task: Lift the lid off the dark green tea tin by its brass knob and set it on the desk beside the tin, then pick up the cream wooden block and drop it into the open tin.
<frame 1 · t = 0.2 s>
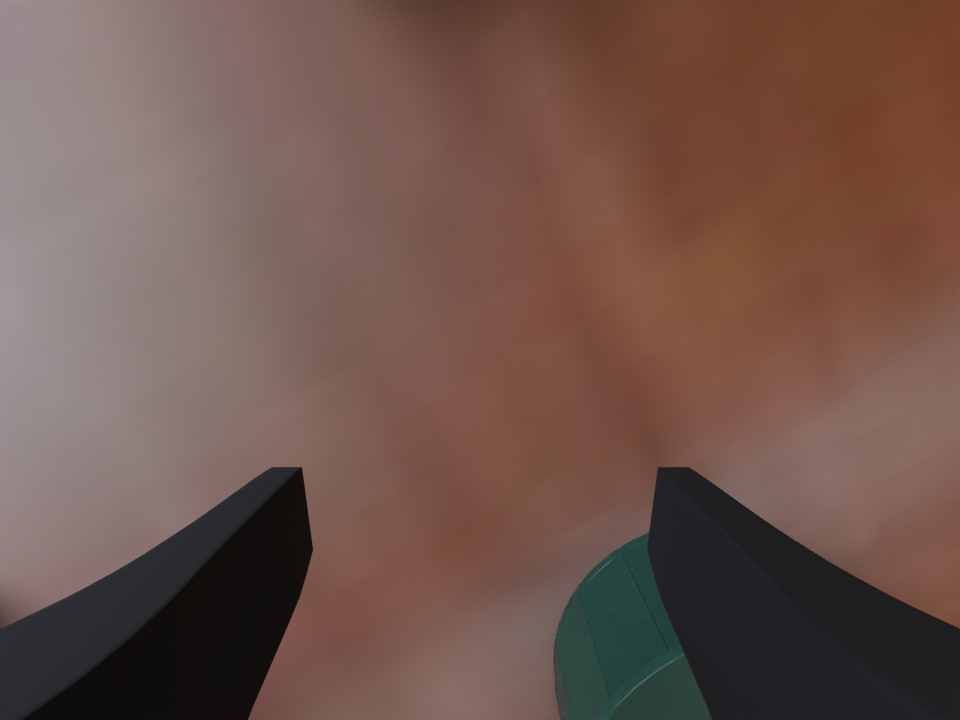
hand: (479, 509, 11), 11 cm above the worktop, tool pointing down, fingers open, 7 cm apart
tea tin: (697, 652, 24), on the worktop
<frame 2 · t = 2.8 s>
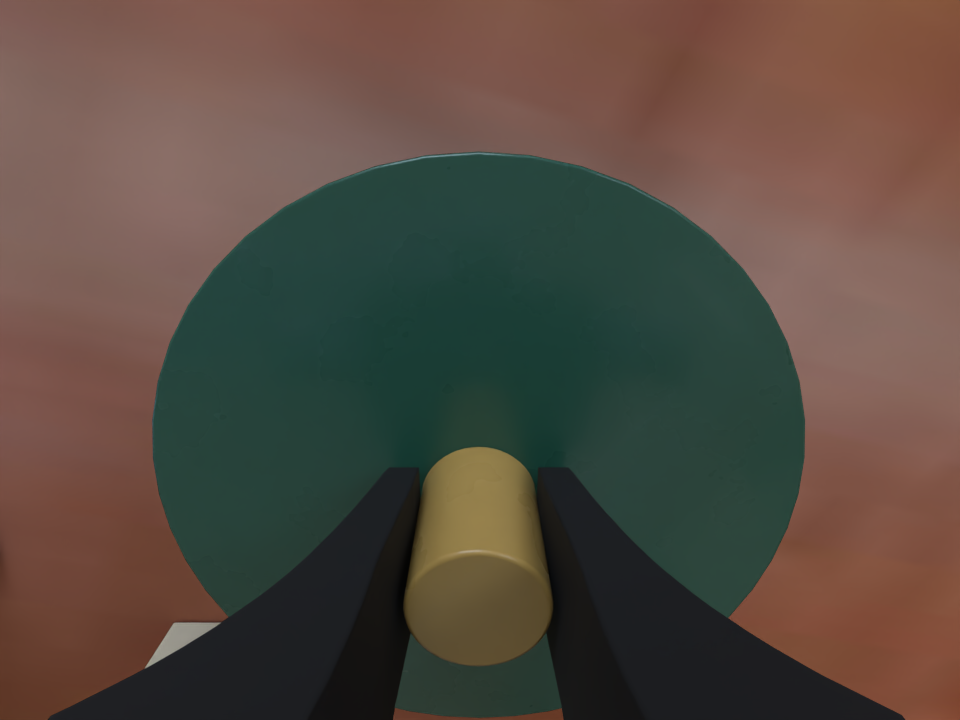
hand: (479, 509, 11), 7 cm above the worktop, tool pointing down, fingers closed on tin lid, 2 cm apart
tin lid: (478, 481, 12), point 6 cm above the worktop, touching gripper, tea tin
block: (237, 662, 23), on the worktop
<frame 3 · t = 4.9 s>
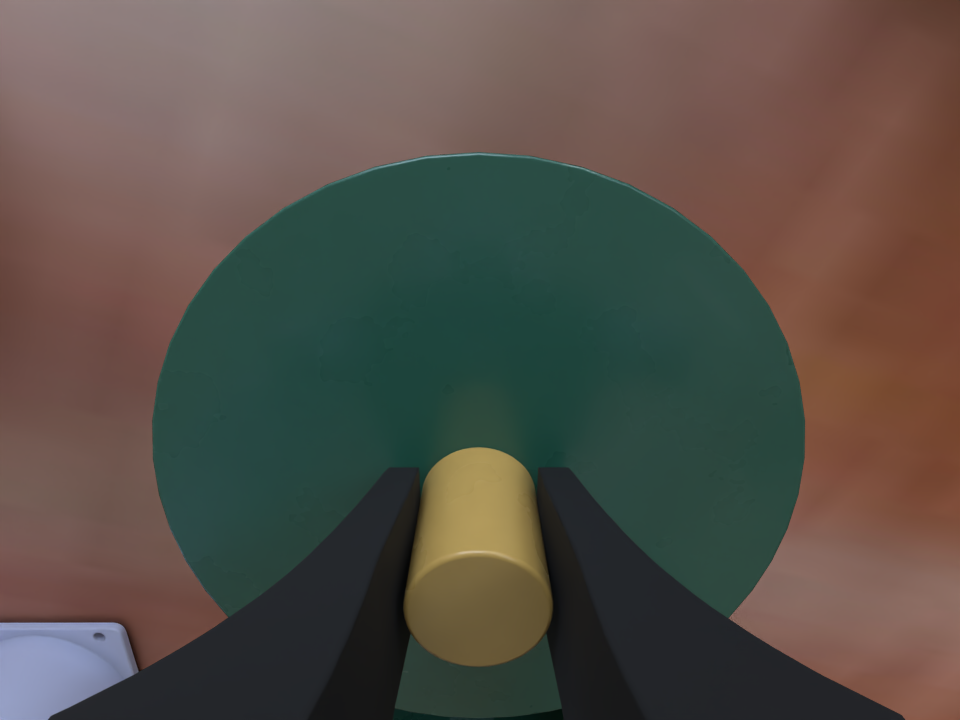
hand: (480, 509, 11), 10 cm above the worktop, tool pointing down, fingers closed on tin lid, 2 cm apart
tin lid: (478, 481, 12), point 9 cm above the worktop, touching gripper
tea tin: (518, 617, 25), on the worktop
when the fingers open (2 cm above the worktop, at t = 7.2 s): tin lid stays where it is, point 1 cm above the worktop.
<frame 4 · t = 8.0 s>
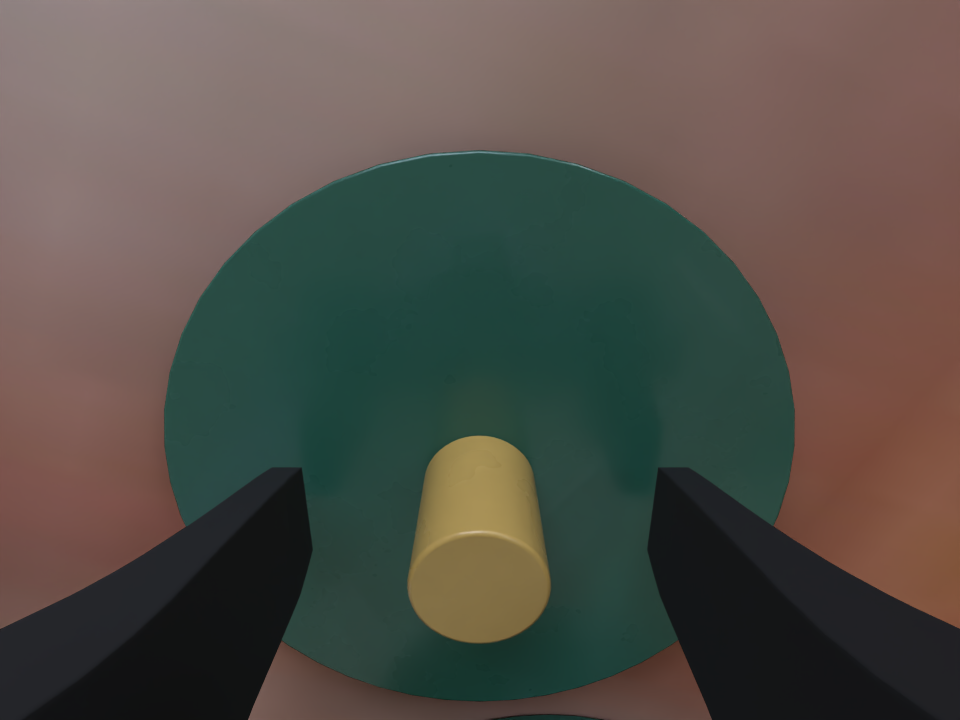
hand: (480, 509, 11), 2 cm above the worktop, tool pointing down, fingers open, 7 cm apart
tin lid: (479, 469, 13), point 1 cm above the worktop
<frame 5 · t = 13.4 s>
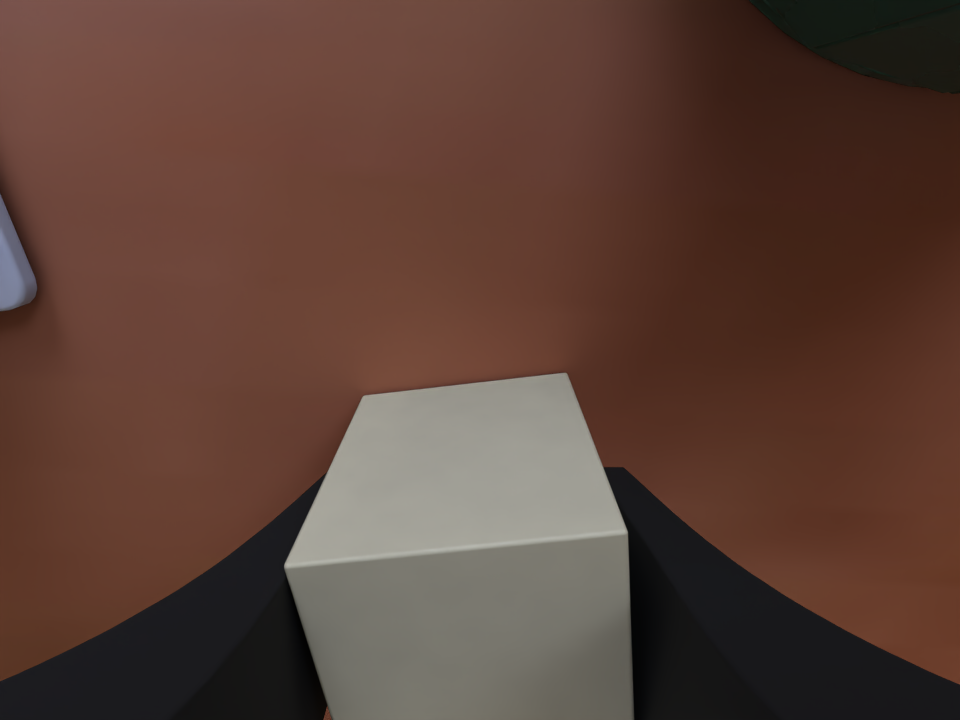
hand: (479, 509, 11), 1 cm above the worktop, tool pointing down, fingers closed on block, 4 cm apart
block: (476, 471, 13), on the worktop, touching gripper
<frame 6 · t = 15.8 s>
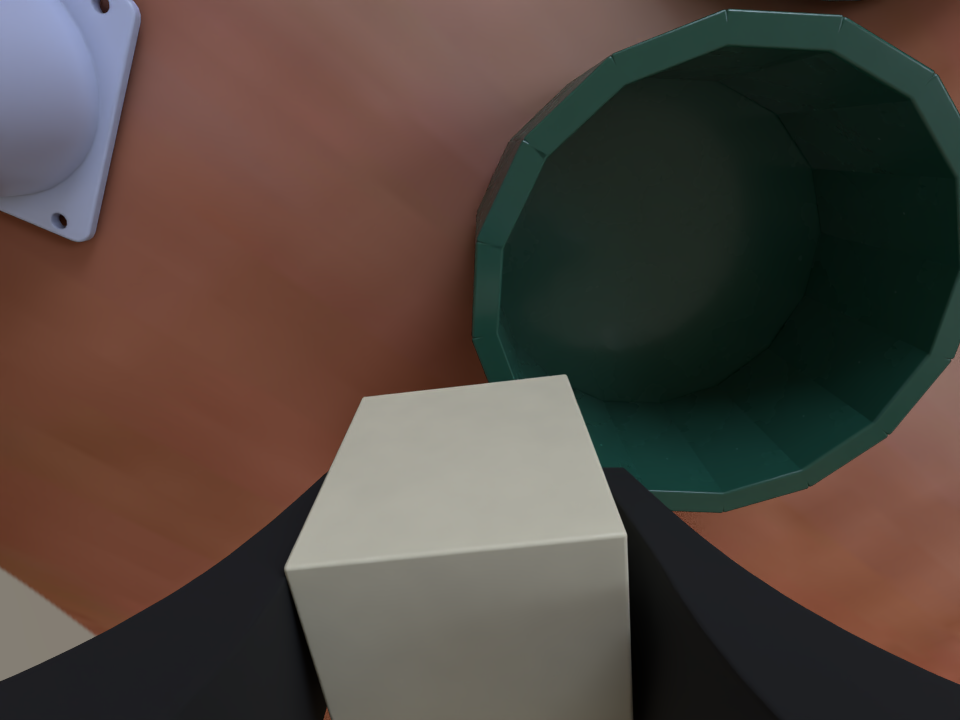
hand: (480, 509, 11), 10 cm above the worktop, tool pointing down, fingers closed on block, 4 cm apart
tea tin: (650, 255, 20), on the worktop
block: (476, 472, 13), point 9 cm above the worktop, touching gripper
when the fingers open (6 cm above the worktop, at t = 18.3 s): block drops 5 cm, resting on tea tin.
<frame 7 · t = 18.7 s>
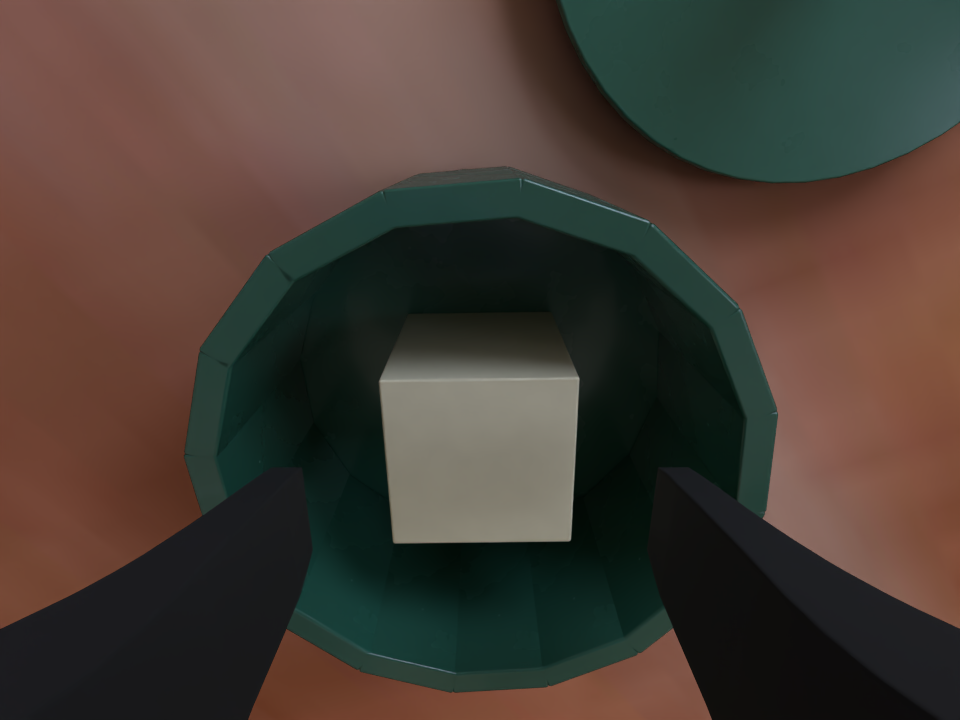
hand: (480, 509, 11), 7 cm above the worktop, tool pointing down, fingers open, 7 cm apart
tea tin: (480, 372, 18), on the worktop
block: (480, 378, 18), resting on tea tin
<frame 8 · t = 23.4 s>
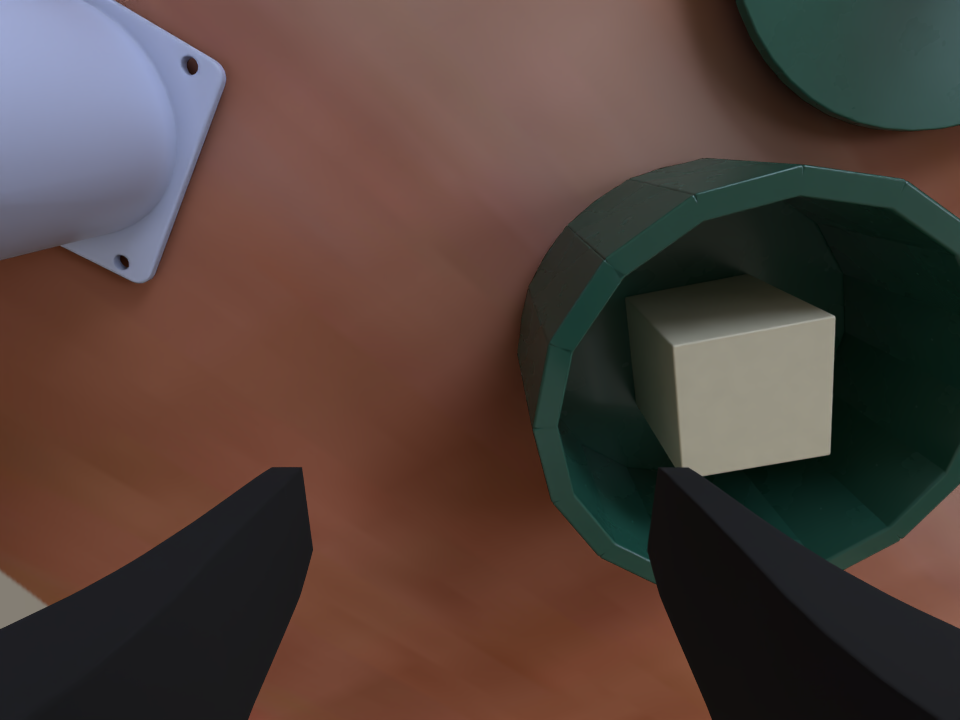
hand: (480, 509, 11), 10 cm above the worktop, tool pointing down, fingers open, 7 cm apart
tea tin: (685, 337, 21), on the worktop
block: (689, 341, 21), resting on tea tin
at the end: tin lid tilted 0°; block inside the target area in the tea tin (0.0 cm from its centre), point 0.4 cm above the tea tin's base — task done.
